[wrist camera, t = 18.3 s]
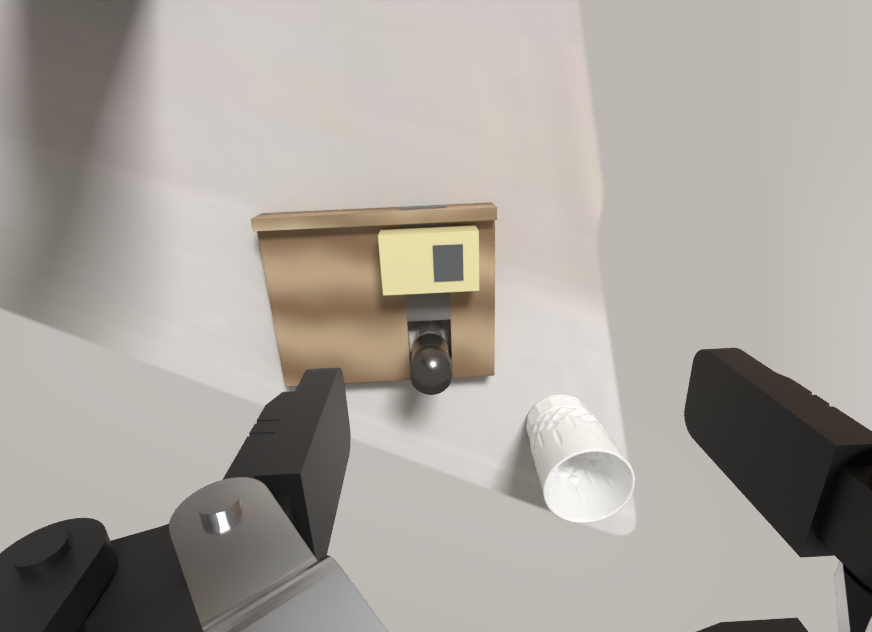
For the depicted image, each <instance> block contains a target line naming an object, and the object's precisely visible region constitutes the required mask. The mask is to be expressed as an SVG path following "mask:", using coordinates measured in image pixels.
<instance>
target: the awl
mask: <svg viewBox="0 0 872 632" xmlns="http://www.w3.org/2000/svg"><path fill="white" fill-rule="evenodd" d="M451 378H452V375H451V367H450V360H449V352H448V346H447V343H446V341H445V340H444V339H443V338H442V330H441V327H440V326H439V325H438V324H437V323H436V322H434V321H425V322H423V323H421V324H420V325H419V327H418V329H417V339H416V340H415V342H414V343H413V346H412V363H411V381H412V384H413V386H414V387H415V388H416V389H417V390H418V391H419V392H421V393H424V394H428V395H434V394H438V393H441V392H443V391H444V390H445V389H446V388H447V387H448V386H449V384H450V382H451Z"/></svg>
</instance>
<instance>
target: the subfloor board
mask: <svg viewBox="0 0 872 632" xmlns="http://www.w3.org/2000/svg"><path fill="white" fill-rule="evenodd" d="M495 220H497V207H496V206H495V205H494V204H492V203H474V204H453V205H431V206H410V207H389V208H368V209H346V210H325V211H304V212H282V213H262V214H260V215H258V216H256V217H254V218H252V219H251V224H252V230H253V231H257V233H258V238H259V244H260V249H261V255H262V260H263V266H264V271H265V277H266V282H267V288H268V293H269V299H270V304H271V310H272V315H273V321H274V327H275V332H276V338H277V343H278V349H279V354H280V360H281V365H282V371H283V376H284V382H285V386H298V384H299V382H300V380H301V378H302V376H303V374H304V372H305V371H306V370H307V369H318V368H337V367H340V368H341V370H342V373H343V378H344V383H358V382H377V381H397V380H411V363H412V352H410V342H409V327H408V322H409V321H429V320H449V319H450V340H451V350H448V352H449V360H450V367H451V375H452V378H454V377H473V376H493V375H494V324H495ZM468 225H476V227H477V229H478V230H479V291H464V292H444V293H424V294H404V295H384V296H383V289H382V277H381V266H380V254H379V243H378V234H379V232H380V230H384V229H405V228H426V227H447V226H468Z"/></svg>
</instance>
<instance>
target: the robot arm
mask: <svg viewBox="0 0 872 632" xmlns="http://www.w3.org/2000/svg"><path fill="white" fill-rule="evenodd" d="M684 416H685V423H686V426H687V429H688V432H689V434H690V435H691V437H692V438H693V439H694V440H695V441H696V443H697V444H698V445H699V446H700V447H701V448H702V449H703V450H704V451H705V452H706V453H707V455H708V456H709V457H710V458H711V459H712V460H713V461H714V462H715V464H716V465H717V466H718V467H719V468H720V469H721V470H722V471H723V472H724V473H725V474H726V476H727V477H728V478H729V479H730V480H731V481H732V482H733V483H734V484H735V486H736V487H737V488H738V489H739V490H740V491H741V492H742V493H743V494H744V495H745V497H746V498H747V499H748V500H749V501H750V502H751V503H752V504H753V506H754V507H755V508H756V509H757V510H758V511H759V512H760V513H761V514H762V515H763V516H764V517H765V519H766V520H767V521H768V522H769V523H770V524H771V525H772V526H773V528H774V529H775V530H776V531H777V532H778V533H779V534H780V535H781V536H782V538H783V539H784V540H785V541H786V542H787V543H788V544H789V545H790V546H791V547H792V548H793V550H794V551H795V552H796V553H797V554H798V555H799V556H800V557H816V556H833V555H835V556H836V557H837V558H838V559H839V560H840V561H839V564H838V567H837V569H836V572H835V575H834V582H835V594H836V605H837V616H838V627H839V632H872V431H870V430H869V429H867V428H866V427H864V426H863V425H861V424H860V423H858V422H856V421H855V420H854V419H852V418H850V417H849V416H847V415H846V414H844V413H843V412H841V411H840V410H838V409H837V408H835V407H830V406H829V403H827V402H826V401H824V400H823V399H821V398H820V397H818V396H817V395H812V392H810V391H809V390H807V389H806V388H804V387H803V386H801V385H800V384H798V383H796V382H795V381H794V380H792V379H790V378H788V377H785V376H783V375H780V374H778V373H776V372H774V371H772V370H771V369H770V368H768V367H766V366H765V365H763V364H762V363H760V362H759V361H757V360H756V359H754V358H753V357H751V356H750V355H748V354H747V353H745V352H744V351H742V350H740V349H738V348H722V349H704V350H703V349H702V350H700V351H698V352H697V353H696V355H695V357H694V360H693V365H692V371H691V376H690V382H689V387H688V393H687V399H686V404H685V411H684ZM249 434H250V435H249V437H247V438H246V440H245V442H244V444H243V445H242V447H241V449H240V451H239V452H238V454H237V456H236V457H235V459H234V461H233V463H232V464H231V466H230V468H229V470H228V471H227V473H226V475H225V477H224V478H223V480H221V481H217V482H215V483H212V484H210V485H207V486H205V487H203V488H201V489H199V490H198V491H196V492H195V493H193V494H192V495H190V496H189V497H188V498H186V499H185V500H184V501H183V502H182V503H181V504H180V505H179V506H178V508H177V509H176V510H175V512H174V513H173V515H172V517H171V520H170V522H169V524H167V525H164V526H161V527H158V528H155V529H151V530H148V531H144V532H140V533H137V534H133V535H130V536H126V537H123V538H119V539H116V540H112V541H110V539H109V537H108V534H107V531H106V529H105V527H104V525H103V524H102V523H101V522H99V521H97V520H94V519H90V518H75V519H69V520H64V521H61V522H57V523H54V524H51V525H48V526H46V527H43V528H41V529H39V530H36V531H34V532H32V533H30V534H28V535H27V536H25V537H23V538H21V539H20V540H18V541H16V542H15V543H14V544H12V545H11V546H9V547H8V548H6V549H5V550H4V551H3V552H2V553H1V554H0V632H388V630H387V629H386V628H385V626H384V625H383V624H382V623H381V621H380V620H379V618H378V617H377V615H376V614H375V613H374V611H373V610H372V609H371V607H370V606H369V605H368V603H367V602H366V600H365V599H364V598H363V596H362V595H361V594H360V592H359V591H358V590H357V588H356V587H355V585H354V584H353V583H352V581H351V580H350V579H349V577H348V576H347V574H346V573H345V572H344V570H343V569H342V568H341V566H340V565H339V564H338V563H337V562H336V560H335V559H333V558H332V557H331V556H328V555H327V551H328V547H329V543H330V538H331V534H332V529H333V525H334V520H335V516H336V511H337V507H338V503H339V498H340V494H341V489H342V485H343V480H344V476H345V471H346V466H347V463H348V458H349V452H350V424H349V416H348V409H347V401H346V393H345V385H344V378H343V373H342V370H341V368H340V367H337V368H318V369H307V370H306V371H305V372H304V374H303V376H302V378H301V380H300V382H299V384H298V386H297V389H296V391H295V392H282V393H281V394H280V395H278V396H277V397H276V398H274V399H273V400H272V401H271V402H269V403H268V404H267V405H266V406H265V407H264V409H263V411H262V412H261V414H260V416H259V418H258V419H257V424H255V425H254V427H253V428H252V430H251V431H250V433H249ZM697 632H808V631H807V629H806V628H805V627H804V626H803V624H802V623H801V622H800V621H799V619H798V618H785V619H769V620H753V621H735V622H720V623H718V624H715V625H713V626H710V627H708V628H705V629H702V630H700V631H697Z"/></svg>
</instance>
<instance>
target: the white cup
mask: <svg viewBox="0 0 872 632" xmlns="http://www.w3.org/2000/svg"><path fill="white" fill-rule="evenodd" d="M526 430H527V433H528V437H529V440H530V448H531V452H532V456H533V460H534V464H535V468H536V471H537V475H538V478H539V482H540V485H541V489H542V493H543V496H544V500H545V503H546V505H547V506H548V508H549V509H550V510H551V511H552V512H553V513H554V514H555V515H556V516H558V517H559V518H561V519H564V520H566V521H570V522H574V523H591V522H596V521H600V520H603V519H605V518H608V517H610V516H612V515H613V514H615V513H616V512H618V511H619V510H620V509H621V508H622V507H623V506H624V505H625V504H626V503H627V502H628V500H629V499H630V497H631V495H632V493H633V490H634V486H635V476H634V472H633V469H632V467H631V466H630V464H629V463H628V461H627V460H626V459H625V457H624V456H623V455H622V453H621V452H620V450H619V449H618V448H617V446H616V445H615V443H614V442H613V441H612V439H611V438H610V436H609V435H608V434H607V432H606V431H605V430H604V428H603V427H602V426H601V425H600V423H599V422H598V421H597V419H596V418H595V417H594V416H593V415H592V414H591V412H590V411H589V410H588V408H587V407H586V406H585V405H584V404H583V403H582V402H581V401H579V400H578V399H577V398H576V397H572V396H568V395H564V394H561V395H555V396H548V397H546V398H545V399H543V400H541V401H540V402H538V403H536V404H535V406H534V407H533V408H532V410H531V411H530V412H529V414H528V416H527V423H526Z"/></svg>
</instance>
